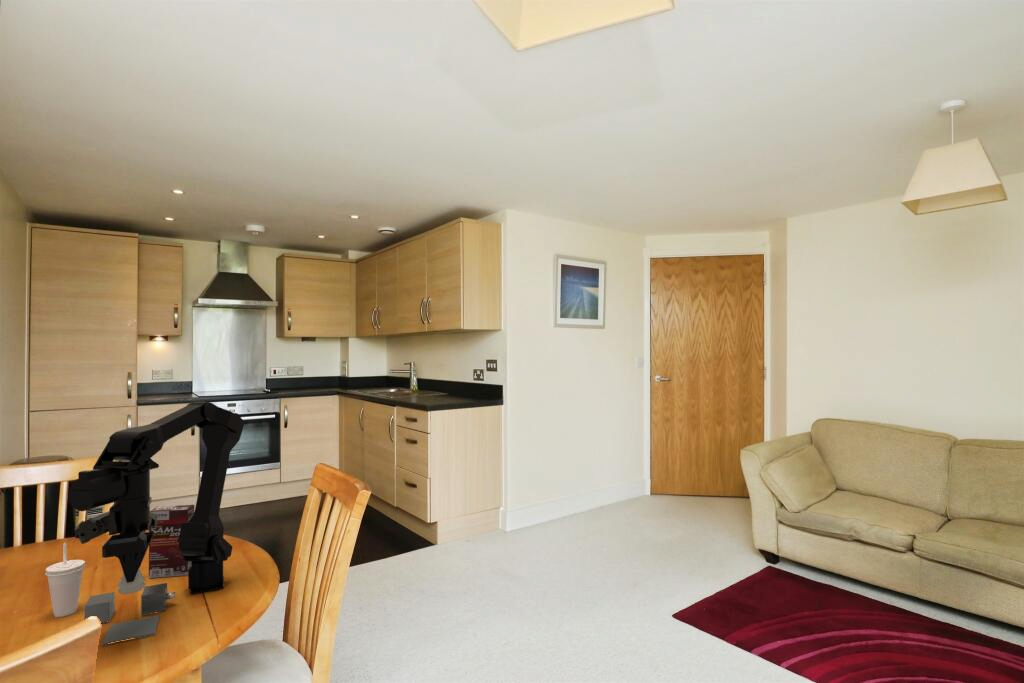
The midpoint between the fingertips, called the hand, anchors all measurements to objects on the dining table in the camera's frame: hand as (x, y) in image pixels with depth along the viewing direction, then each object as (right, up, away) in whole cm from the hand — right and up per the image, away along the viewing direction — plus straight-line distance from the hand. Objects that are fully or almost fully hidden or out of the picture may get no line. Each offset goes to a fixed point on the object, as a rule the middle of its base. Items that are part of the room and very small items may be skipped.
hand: (132, 578), depth 104 cm
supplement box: (-9, -11, +27) cm, 31 cm away
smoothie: (-19, -11, +8) cm, 23 cm away
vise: (-6, -10, +7) cm, 13 cm away
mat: (0, -10, 0) cm, 10 cm away
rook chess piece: (0, -2, 0) cm, 2 cm away
